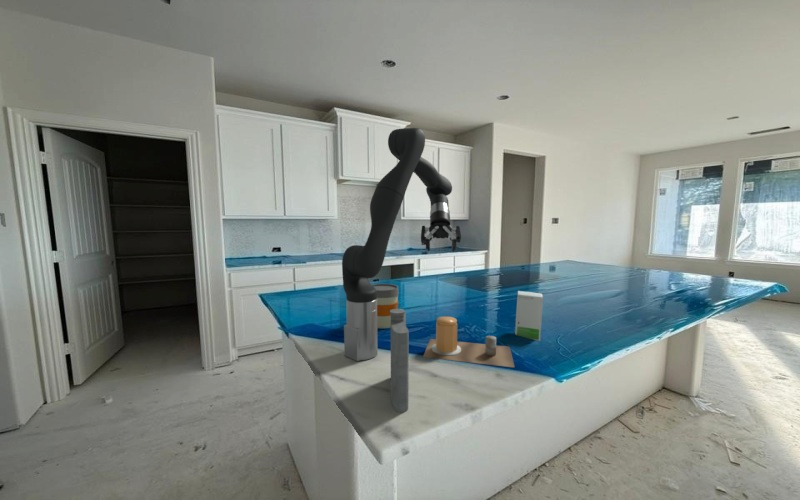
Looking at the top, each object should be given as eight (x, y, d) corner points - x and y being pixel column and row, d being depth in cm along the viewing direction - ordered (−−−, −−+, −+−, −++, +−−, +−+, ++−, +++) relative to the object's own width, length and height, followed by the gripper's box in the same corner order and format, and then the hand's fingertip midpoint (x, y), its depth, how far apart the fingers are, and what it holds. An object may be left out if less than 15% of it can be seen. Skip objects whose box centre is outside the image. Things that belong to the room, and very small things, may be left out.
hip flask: (408, 412, 65) (409, 321, 63) (389, 412, 65) (389, 321, 63) (405, 374, 81) (405, 301, 79) (389, 375, 81) (389, 301, 79)
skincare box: (514, 338, 106) (516, 294, 104) (515, 332, 112) (516, 290, 110) (541, 342, 102) (543, 296, 101) (540, 335, 109) (542, 292, 107)
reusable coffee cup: (398, 330, 113) (398, 290, 112) (365, 330, 113) (364, 290, 112) (399, 319, 126) (399, 283, 124) (368, 319, 126) (368, 283, 124)
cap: (449, 354, 89) (449, 324, 88) (432, 348, 93) (432, 319, 92) (460, 347, 93) (460, 319, 92) (443, 342, 97) (444, 315, 96)
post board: (509, 351, 95) (510, 331, 94) (514, 372, 82) (515, 349, 81) (430, 343, 101) (430, 324, 101) (422, 361, 88) (422, 340, 87)
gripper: (421, 209, 114) (420, 242, 104) (459, 209, 113) (462, 242, 102) (421, 223, 120) (420, 256, 109) (457, 223, 118) (460, 256, 108)
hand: (441, 249), depth 106 cm, fingers open, 8 cm apart
